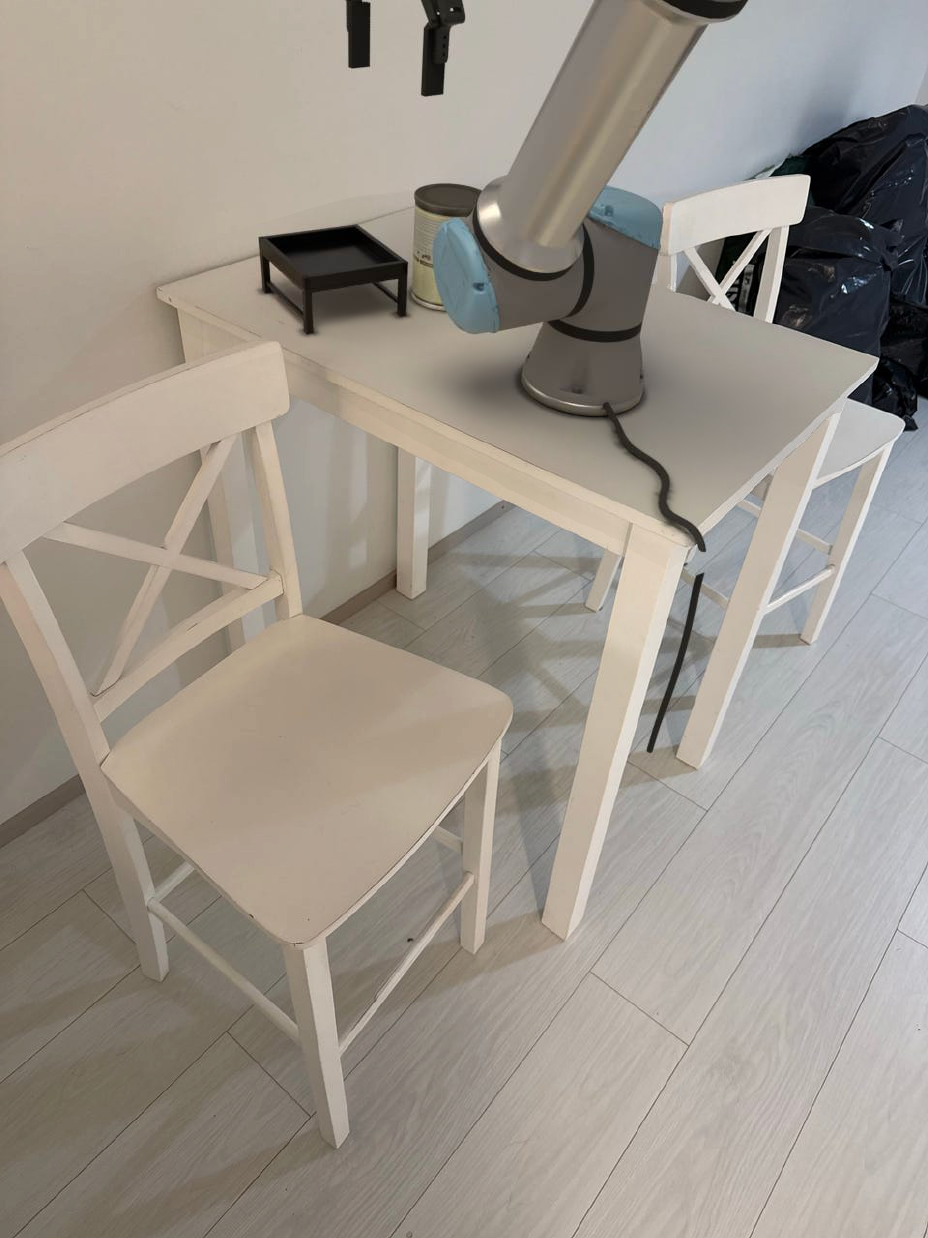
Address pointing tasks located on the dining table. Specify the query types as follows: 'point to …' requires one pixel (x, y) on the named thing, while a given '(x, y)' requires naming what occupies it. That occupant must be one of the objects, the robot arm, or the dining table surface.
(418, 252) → the coffee can
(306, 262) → the stand
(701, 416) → the dining table surface
